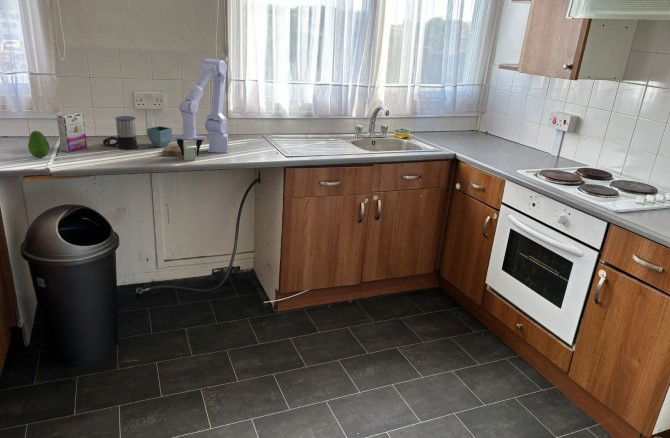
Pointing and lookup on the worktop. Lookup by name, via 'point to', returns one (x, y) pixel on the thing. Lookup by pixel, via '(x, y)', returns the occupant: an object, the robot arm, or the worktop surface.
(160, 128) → the flower pot
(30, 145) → the avocado
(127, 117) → the milk frother
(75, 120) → the candy bar box
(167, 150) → the base slab
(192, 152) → the cube
